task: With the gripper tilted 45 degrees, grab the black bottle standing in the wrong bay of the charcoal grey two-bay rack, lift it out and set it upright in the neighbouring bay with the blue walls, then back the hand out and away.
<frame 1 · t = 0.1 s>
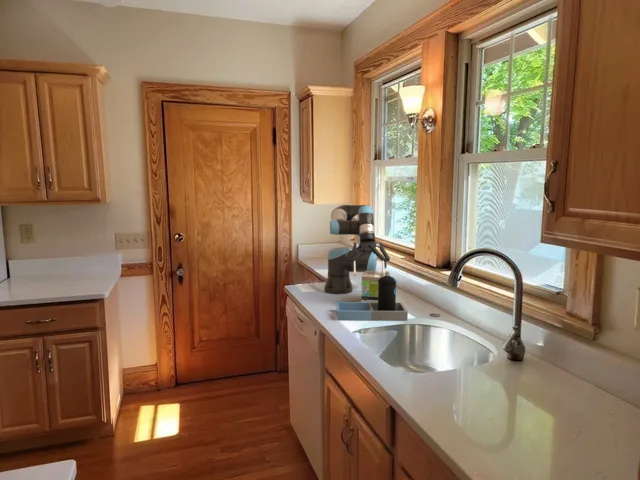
hand: (369, 274, 205), 15 cm above the worktop, tool tilted 35°, fingers open, 13 cm apart
rack: (370, 315, 193), on the worktop
black bottle: (386, 315, 193), resting in rack
tea box: (372, 303, 212), on the worktop, touching gripper
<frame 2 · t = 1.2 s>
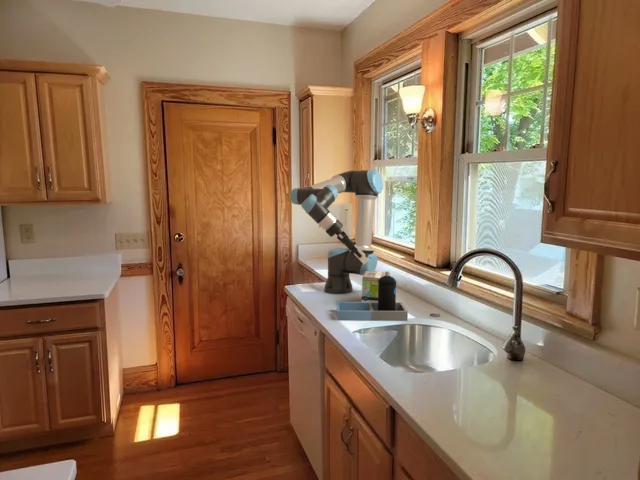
hand: (364, 259, 190), 25 cm above the worktop, tool tilted 45°, fingers open, 13 cm apart
tea box: (372, 303, 212), on the worktop
everything else where it was.
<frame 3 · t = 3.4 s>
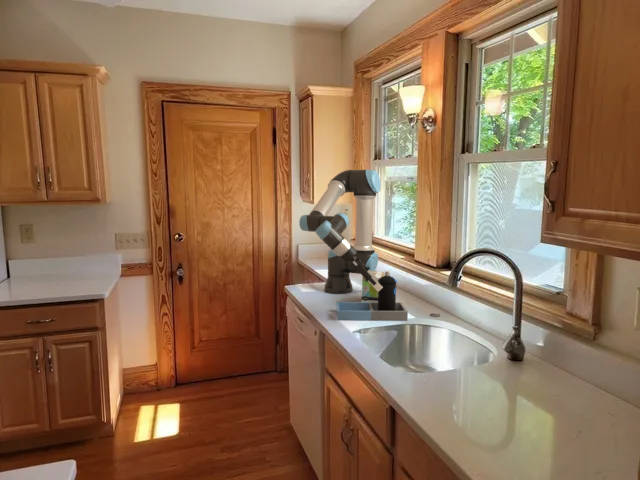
hand: (378, 285, 190), 14 cm above the worktop, tool tilted 45°, fingers open, 13 cm apart
nothing on the worktop moved.
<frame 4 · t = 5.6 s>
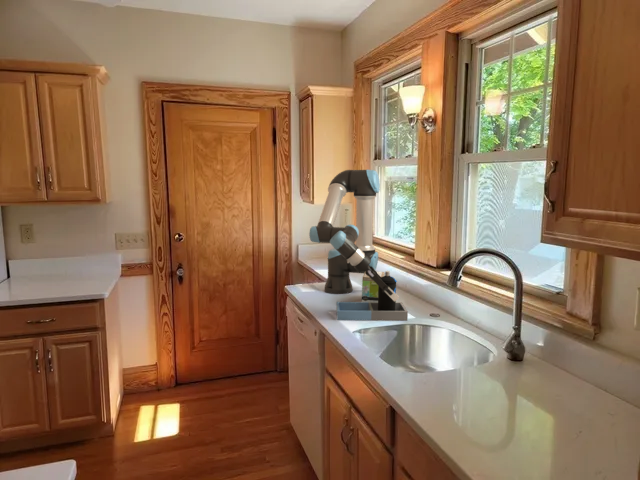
hand: (395, 296, 192), 9 cm above the worktop, tool tilted 45°, fingers closed on black bottle, 8 cm apart
black bottle: (386, 315, 193), resting in rack, touching gripper
everything else where it was.
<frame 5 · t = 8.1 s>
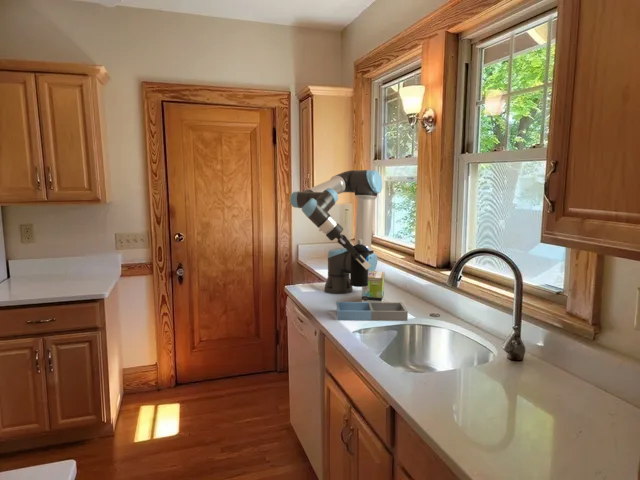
hand: (367, 265, 190), 23 cm above the worktop, tool tilted 45°, fingers closed on black bottle, 8 cm apart
black bottle: (358, 285, 191), point 14 cm above the worktop, touching gripper
everything else where it was.
when the fingers open (10 cm above the worktop, at t = 11.1 s): black bottle drops 1 cm, resting in rack.
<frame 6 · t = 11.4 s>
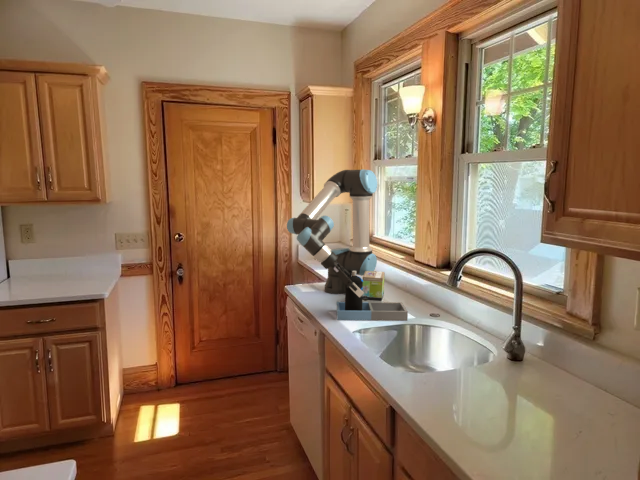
hand: (360, 291, 192), 11 cm above the worktop, tool tilted 45°, fingers open, 12 cm apart
black bottle: (353, 315, 193), resting in rack
everything else where it was.
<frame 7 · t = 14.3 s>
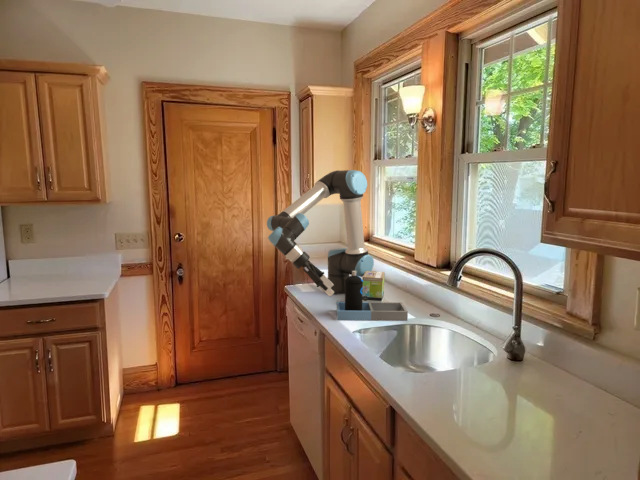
hand: (331, 290, 192), 11 cm above the worktop, tool tilted 45°, fingers open, 13 cm apart
nothing on the worktop moved.
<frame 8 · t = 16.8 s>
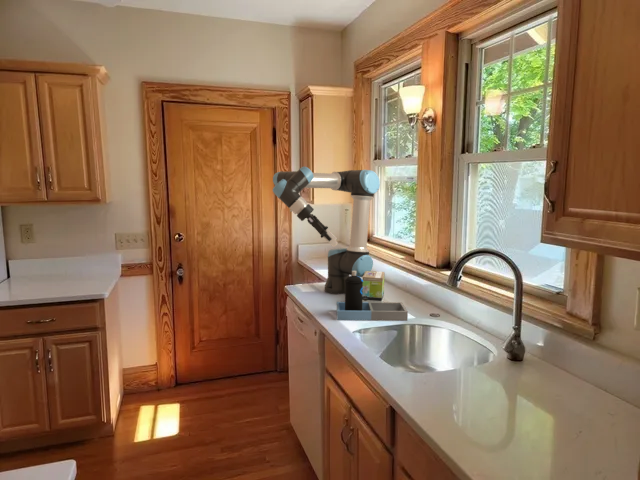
hand: (335, 243, 194), 32 cm above the worktop, tool tilted 45°, fingers open, 13 cm apart
nothing on the worktop moved.
at the end: black bottle inside the target area on the rack (0.4 cm from its centre), point 0.0 cm above the rack's base; black bottle tilted 0°; the gripper is holding nothing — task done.
